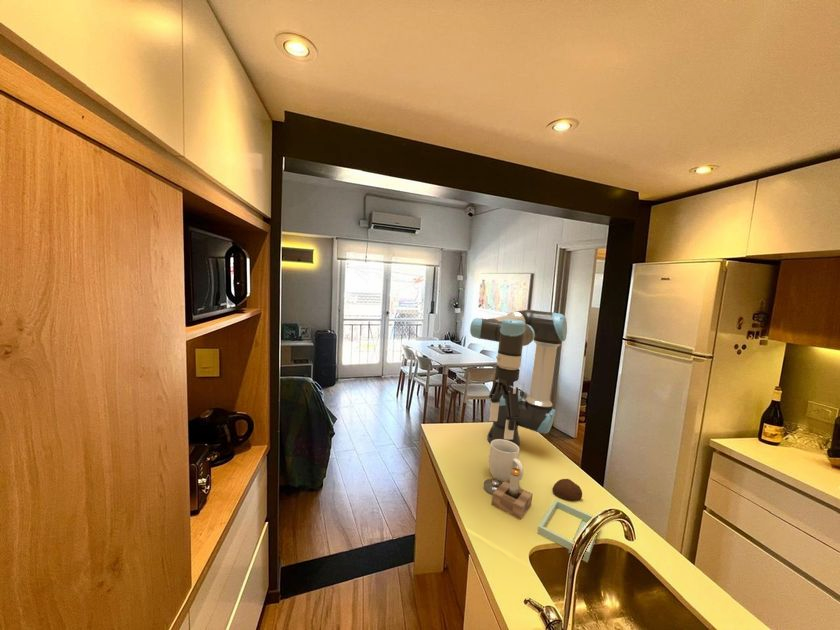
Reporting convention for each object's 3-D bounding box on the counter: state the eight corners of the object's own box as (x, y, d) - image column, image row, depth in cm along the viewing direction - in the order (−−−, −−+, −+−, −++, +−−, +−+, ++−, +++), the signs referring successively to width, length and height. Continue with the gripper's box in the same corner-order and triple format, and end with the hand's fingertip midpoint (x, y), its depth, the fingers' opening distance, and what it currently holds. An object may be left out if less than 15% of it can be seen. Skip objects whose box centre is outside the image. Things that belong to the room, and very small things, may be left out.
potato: (586, 506, 118) (588, 487, 117) (556, 503, 117) (559, 484, 117) (576, 493, 125) (579, 475, 124) (548, 491, 124) (551, 473, 124)
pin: (509, 500, 115) (513, 466, 114) (517, 504, 113) (521, 470, 112) (505, 504, 112) (509, 470, 111) (514, 508, 111) (518, 474, 110)
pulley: (489, 482, 126) (490, 473, 126) (509, 491, 122) (510, 482, 121) (479, 491, 120) (480, 481, 120) (500, 501, 115) (501, 492, 115)
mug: (529, 487, 126) (534, 454, 124) (509, 495, 120) (514, 460, 118) (500, 467, 138) (504, 436, 137) (480, 473, 132) (484, 441, 131)
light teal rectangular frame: (554, 507, 115) (555, 498, 115) (599, 528, 107) (600, 519, 106) (536, 535, 101) (538, 526, 100) (587, 562, 92) (589, 552, 92)
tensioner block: (503, 494, 120) (504, 480, 119) (530, 507, 114) (532, 493, 113) (491, 507, 112) (492, 493, 111) (520, 522, 106) (522, 507, 105)
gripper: (484, 357, 121) (477, 413, 123) (512, 377, 96) (503, 447, 98) (504, 358, 122) (497, 414, 124) (537, 378, 97) (527, 448, 99)
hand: (500, 429), depth 111 cm, fingers open, 13 cm apart
